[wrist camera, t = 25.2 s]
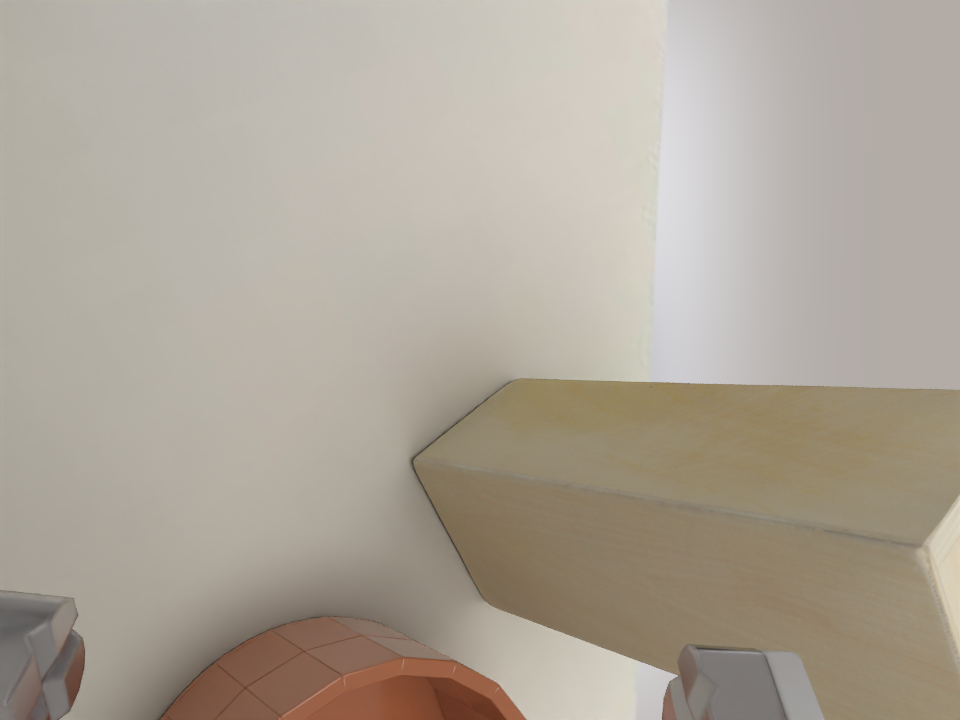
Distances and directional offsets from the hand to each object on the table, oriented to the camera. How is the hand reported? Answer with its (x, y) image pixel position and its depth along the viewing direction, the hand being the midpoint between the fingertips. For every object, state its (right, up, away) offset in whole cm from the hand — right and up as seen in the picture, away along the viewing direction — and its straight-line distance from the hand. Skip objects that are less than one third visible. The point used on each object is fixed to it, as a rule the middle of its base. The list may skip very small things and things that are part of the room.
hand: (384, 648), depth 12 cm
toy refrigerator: (+2, -2, +27) cm, 27 cm away
